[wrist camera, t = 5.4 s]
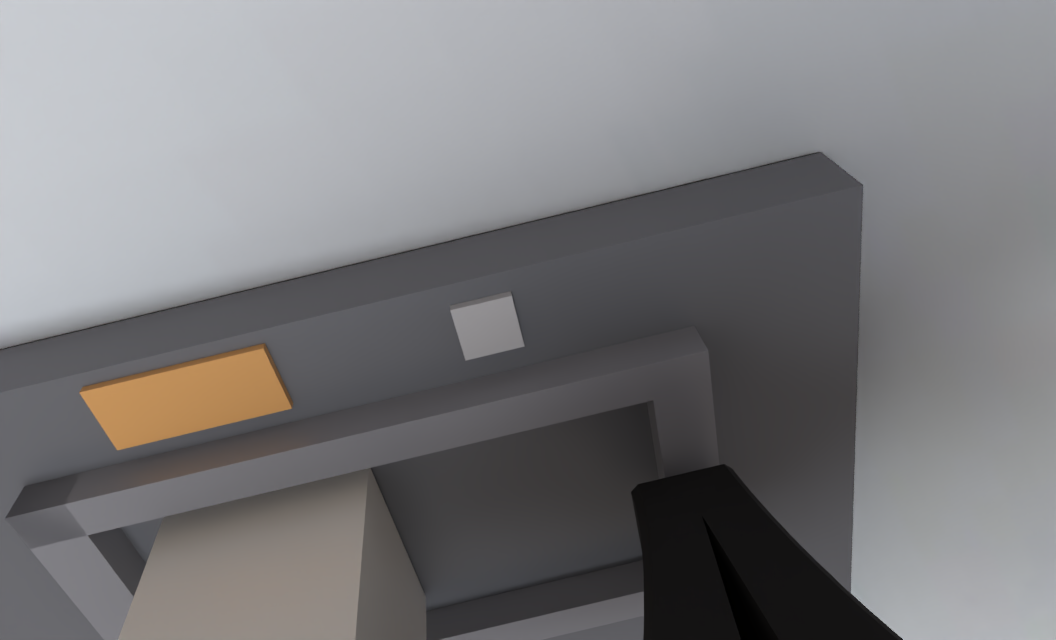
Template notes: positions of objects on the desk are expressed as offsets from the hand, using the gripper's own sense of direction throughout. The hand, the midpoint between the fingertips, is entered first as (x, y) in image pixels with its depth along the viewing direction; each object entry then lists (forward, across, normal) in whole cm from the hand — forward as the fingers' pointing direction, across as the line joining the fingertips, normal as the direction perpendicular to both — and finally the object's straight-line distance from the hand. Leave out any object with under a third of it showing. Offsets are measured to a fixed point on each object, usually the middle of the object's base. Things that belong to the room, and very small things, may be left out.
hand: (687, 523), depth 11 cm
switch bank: (+2, +4, +4) cm, 6 cm away
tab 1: (+1, +6, 0) cm, 6 cm away
